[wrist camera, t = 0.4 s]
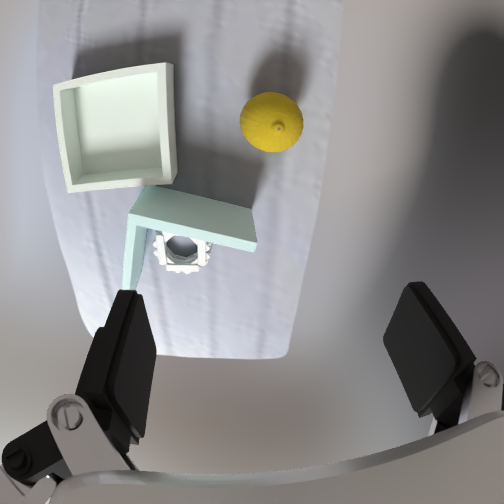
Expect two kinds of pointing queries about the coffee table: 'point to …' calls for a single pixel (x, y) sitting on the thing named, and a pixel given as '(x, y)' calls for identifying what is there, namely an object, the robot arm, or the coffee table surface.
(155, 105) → the bin
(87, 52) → the coffee table surface
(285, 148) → the lemon
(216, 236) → the l-shaped corner panel
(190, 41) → the coffee table surface
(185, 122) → the coffee table surface
